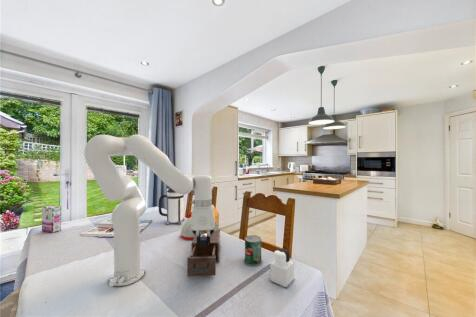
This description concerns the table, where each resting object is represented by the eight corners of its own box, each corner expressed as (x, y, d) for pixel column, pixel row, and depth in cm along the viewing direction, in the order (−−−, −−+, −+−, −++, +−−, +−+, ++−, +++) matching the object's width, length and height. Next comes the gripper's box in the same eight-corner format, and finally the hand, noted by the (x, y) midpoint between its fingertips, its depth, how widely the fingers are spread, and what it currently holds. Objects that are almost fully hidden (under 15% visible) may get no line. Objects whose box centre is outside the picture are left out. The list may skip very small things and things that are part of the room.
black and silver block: (207, 246, 86) (207, 238, 86) (198, 247, 85) (198, 238, 85) (208, 239, 93) (208, 232, 93) (201, 240, 93) (201, 232, 93)
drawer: (214, 282, 77) (214, 263, 77) (184, 283, 77) (184, 264, 77) (217, 255, 99) (217, 240, 99) (194, 256, 98) (194, 241, 98)
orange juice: (201, 240, 119) (201, 207, 119) (207, 234, 128) (207, 203, 127) (213, 242, 117) (213, 208, 117) (219, 236, 125) (219, 204, 125)
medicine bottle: (278, 272, 86) (278, 245, 86) (293, 279, 81) (294, 250, 81) (269, 280, 80) (269, 251, 80) (286, 288, 76) (286, 256, 76)
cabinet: (218, 262, 95) (218, 242, 95) (191, 262, 94) (191, 243, 94) (220, 245, 112) (220, 229, 112) (197, 245, 112) (197, 229, 112)
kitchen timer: (192, 241, 117) (192, 216, 117) (176, 236, 124) (176, 213, 124) (207, 234, 129) (207, 211, 129) (192, 230, 136) (192, 208, 136)
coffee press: (179, 217, 163) (179, 181, 163) (188, 222, 151) (188, 183, 151) (158, 222, 152) (158, 183, 152) (166, 227, 140) (165, 185, 140)
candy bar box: (61, 230, 135) (61, 206, 135) (52, 233, 130) (52, 208, 130) (50, 228, 139) (50, 205, 138) (41, 231, 134) (41, 206, 134)
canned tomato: (264, 260, 96) (264, 237, 96) (256, 267, 90) (256, 243, 90) (250, 255, 101) (250, 234, 101) (241, 262, 94) (241, 239, 94)
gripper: (182, 205, 83) (182, 249, 83) (221, 204, 84) (221, 247, 84) (186, 201, 91) (186, 241, 91) (222, 200, 92) (222, 240, 92)
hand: (203, 244), depth 88 cm, fingers closed on black and silver block, 3 cm apart
